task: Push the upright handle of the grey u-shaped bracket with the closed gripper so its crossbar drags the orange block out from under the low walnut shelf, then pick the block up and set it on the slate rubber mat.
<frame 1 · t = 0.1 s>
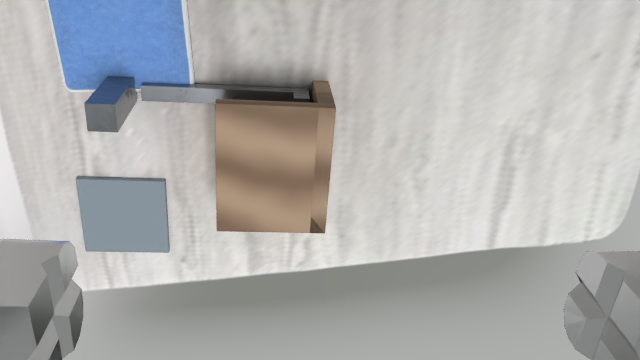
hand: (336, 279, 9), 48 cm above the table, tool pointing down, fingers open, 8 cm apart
grey u-shaped bracket: (207, 151, 55), point 4 cm above the table, slide at 0.0 cm
walnut shelf: (256, 147, 60), on the table
slate mat: (125, 214, 63), on the table
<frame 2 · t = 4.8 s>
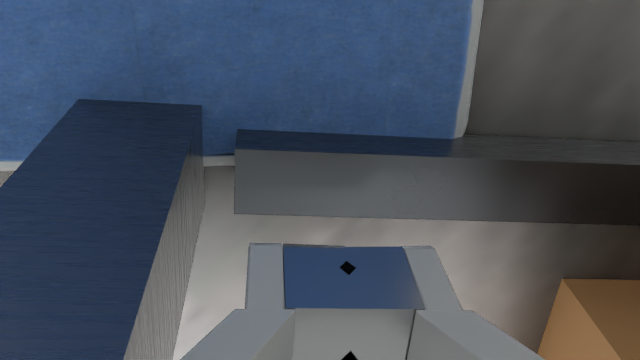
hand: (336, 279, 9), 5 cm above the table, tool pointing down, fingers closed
orange block: (617, 346, 17), on the table
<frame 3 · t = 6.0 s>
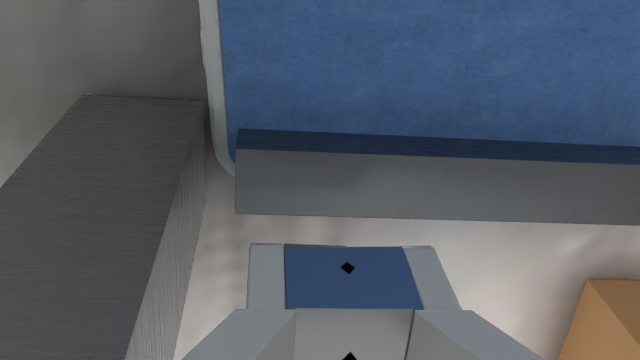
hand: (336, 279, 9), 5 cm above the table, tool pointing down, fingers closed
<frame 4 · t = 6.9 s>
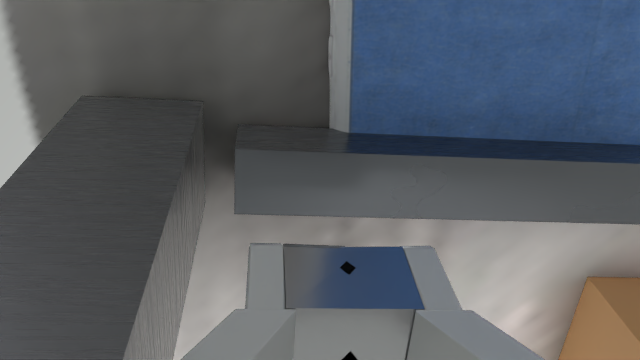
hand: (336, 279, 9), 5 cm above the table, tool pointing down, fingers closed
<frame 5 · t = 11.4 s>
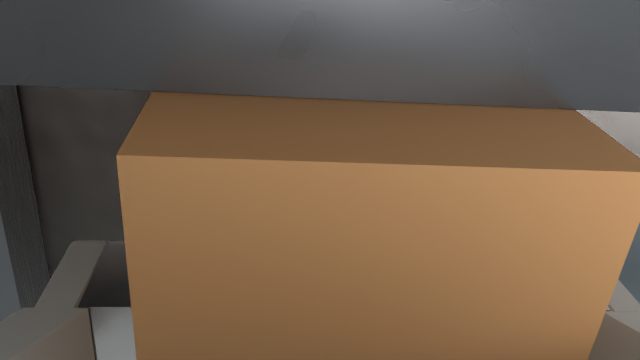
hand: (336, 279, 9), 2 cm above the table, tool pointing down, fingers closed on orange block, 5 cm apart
orange block: (329, 168, 11), on the table, touching gripper
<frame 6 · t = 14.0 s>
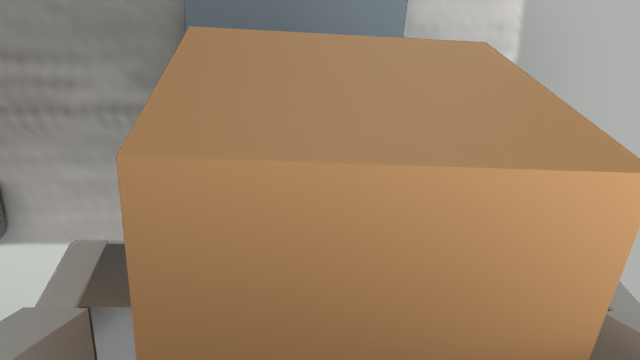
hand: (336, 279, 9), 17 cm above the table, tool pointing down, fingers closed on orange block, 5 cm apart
grey u-shaped bracket: (13, 58, 20), point 4 cm above the table, slide at 9.8 cm
orange block: (329, 168, 11), point 15 cm above the table, touching gripper
slate mat: (295, 32, 24), on the table
when the fingers open (4 cm above the table, at t = 16.7 s): orange block drops 1 cm, resting on slate mat.
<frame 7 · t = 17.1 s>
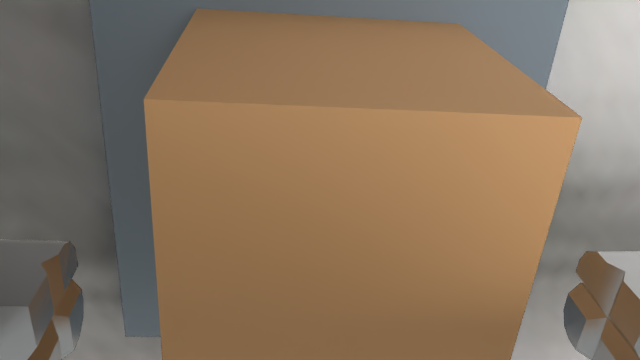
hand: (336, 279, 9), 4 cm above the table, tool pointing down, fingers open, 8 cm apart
orange block: (321, 137, 12), point 1 cm above the table, touching slate mat
slate mat: (319, 166, 13), on the table
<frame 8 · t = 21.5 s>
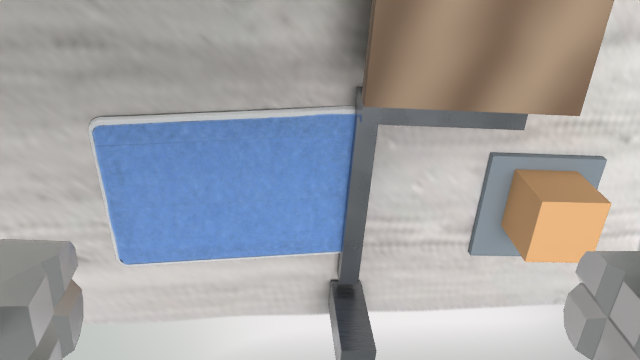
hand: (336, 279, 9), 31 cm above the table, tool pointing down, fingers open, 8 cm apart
grey u-shaped bracket: (424, 236, 42), point 4 cm above the table, slide at 9.8 cm
walnut shelf: (462, 22, 39), on the table
orange block: (538, 198, 45), point 1 cm above the table, touching slate mat
slate mat: (533, 205, 46), on the table
blue flat slab: (234, 184, 44), on the table
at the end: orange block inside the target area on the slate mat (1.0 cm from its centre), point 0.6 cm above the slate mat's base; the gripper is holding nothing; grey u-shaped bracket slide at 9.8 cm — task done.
